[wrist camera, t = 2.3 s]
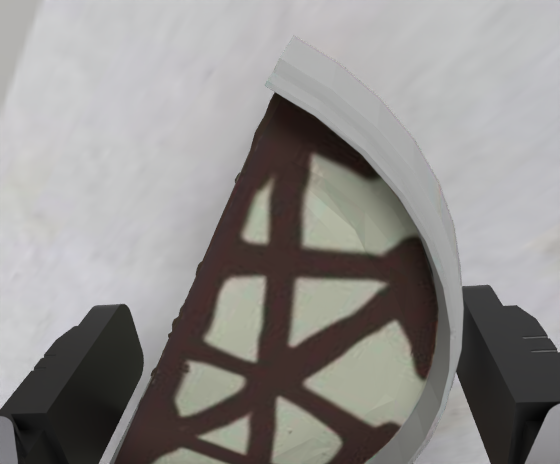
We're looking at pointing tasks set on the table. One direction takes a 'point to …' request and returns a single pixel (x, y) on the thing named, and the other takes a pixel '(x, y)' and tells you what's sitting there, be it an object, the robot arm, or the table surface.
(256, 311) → the food container
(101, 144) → the table surface
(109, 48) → the table surface
